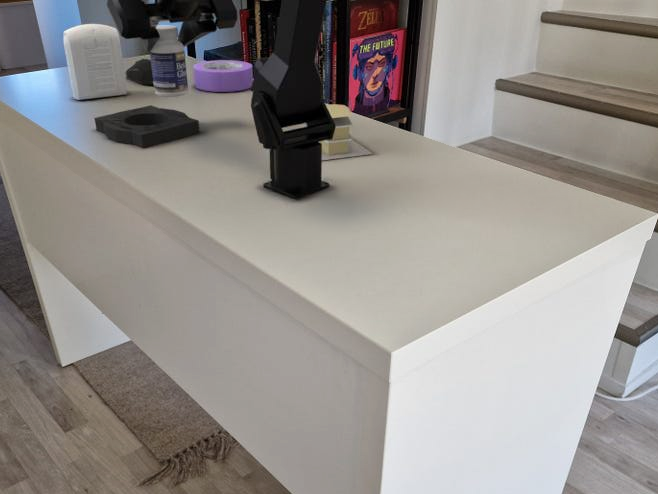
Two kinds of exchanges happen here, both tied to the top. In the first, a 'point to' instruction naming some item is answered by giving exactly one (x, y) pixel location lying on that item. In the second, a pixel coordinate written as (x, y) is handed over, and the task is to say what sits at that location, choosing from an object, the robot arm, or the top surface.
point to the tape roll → (223, 75)
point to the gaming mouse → (141, 72)
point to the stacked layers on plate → (341, 136)
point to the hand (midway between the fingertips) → (163, 47)
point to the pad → (158, 130)
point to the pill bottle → (169, 63)
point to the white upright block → (94, 61)
